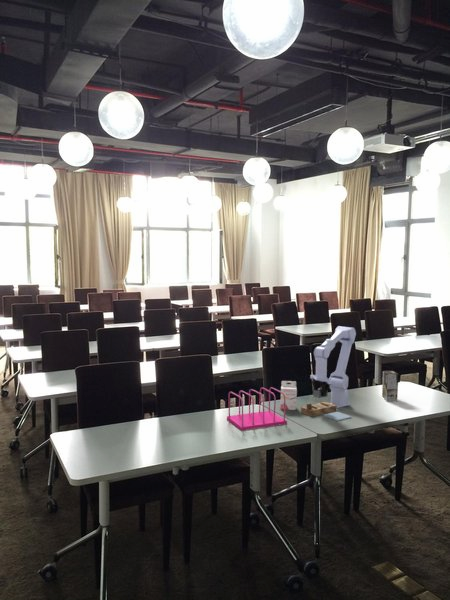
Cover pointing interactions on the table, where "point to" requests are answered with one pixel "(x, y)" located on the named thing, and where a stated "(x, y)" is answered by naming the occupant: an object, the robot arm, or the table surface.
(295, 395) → the ink cartridge box
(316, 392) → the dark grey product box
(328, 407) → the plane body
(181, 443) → the table surface
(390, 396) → the coffee box
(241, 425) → the file sorter
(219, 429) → the table surface
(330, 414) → the rubber mat
